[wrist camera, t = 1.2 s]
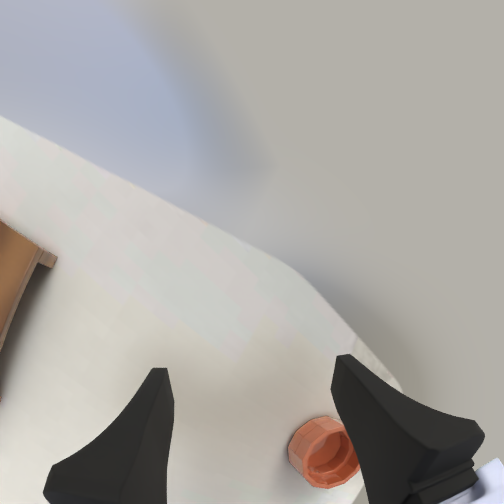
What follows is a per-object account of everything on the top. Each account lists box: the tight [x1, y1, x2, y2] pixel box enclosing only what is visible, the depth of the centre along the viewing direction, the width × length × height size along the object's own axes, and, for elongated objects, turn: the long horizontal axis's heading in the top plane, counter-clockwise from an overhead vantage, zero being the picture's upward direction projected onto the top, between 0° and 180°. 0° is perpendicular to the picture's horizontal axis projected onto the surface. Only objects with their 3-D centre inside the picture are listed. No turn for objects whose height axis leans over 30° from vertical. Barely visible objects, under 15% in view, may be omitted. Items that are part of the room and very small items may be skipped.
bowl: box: [288, 416, 360, 489], centre depth 22 cm, size 6×6×4 cm
